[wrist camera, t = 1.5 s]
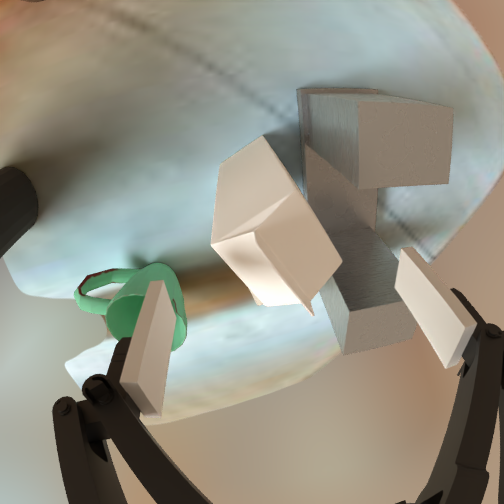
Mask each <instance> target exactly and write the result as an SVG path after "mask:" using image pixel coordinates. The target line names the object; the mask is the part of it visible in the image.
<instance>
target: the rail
mask: <svg viewBox="0 0 504 504" xmlns="http://www.w3.org/2000/svg"><path fill="white" fill-rule="evenodd" d="M296 90H297V101H298V112H299V124H300V138H301V153H302V169H303V188H304V197H305V199H306V201H307V202H308V204H309V205H310V207H311V209H312V210H313V212H314V213H315V215H316V217H317V218H318V220H319V222H320V223H321V225H322V227H323V228H324V230H325V232H326V233H327V235H328V237H329V238H330V240H331V242H332V243H333V245H334V247H335V249H336V250H337V252H338V254H339V255H340V257H341V259H342V263H341V265H340V266H339V267H338V268H337V270H336V271H335V272H334V273H333V274H332V276H331V277H330V278H329V279H328V281H327V282H326V283H325V284H324V285H323V287H322V288H321V289H320V290H319V292H320V295H321V297H322V300H323V303H324V305H325V308H326V310H327V313H328V316H329V318H330V321H331V324H332V326H333V329H334V332H335V334H336V337H337V340H338V343H339V345H340V348H341V351H342V353H343V355H347V354H352V353H357V352H361V351H365V350H370V349H374V348H378V347H383V346H387V345H391V344H394V343H398V342H402V341H406V340H409V339H412V337H413V334H414V331H415V328H416V325H417V321H416V319H415V318H414V316H413V314H412V313H411V311H410V310H409V308H408V307H407V305H406V304H405V302H404V301H403V299H402V298H401V296H400V295H399V293H398V292H397V290H396V289H395V282H396V276H397V271H398V265H399V261H398V259H397V258H396V257H395V256H394V254H393V253H392V252H391V251H390V249H389V248H388V247H387V246H386V245H385V243H384V242H383V241H382V240H381V239H380V237H379V236H378V235H377V234H376V233H375V224H376V211H377V195H378V188H385V187H400V186H417V185H437V184H448V182H449V173H450V163H451V150H452V133H453V108H451V107H446V106H442V105H438V104H433V103H428V102H423V101H418V100H412V99H407V98H401V97H395V96H388V95H381V94H378V90H377V89H359V88H314V89H296Z"/></svg>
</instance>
